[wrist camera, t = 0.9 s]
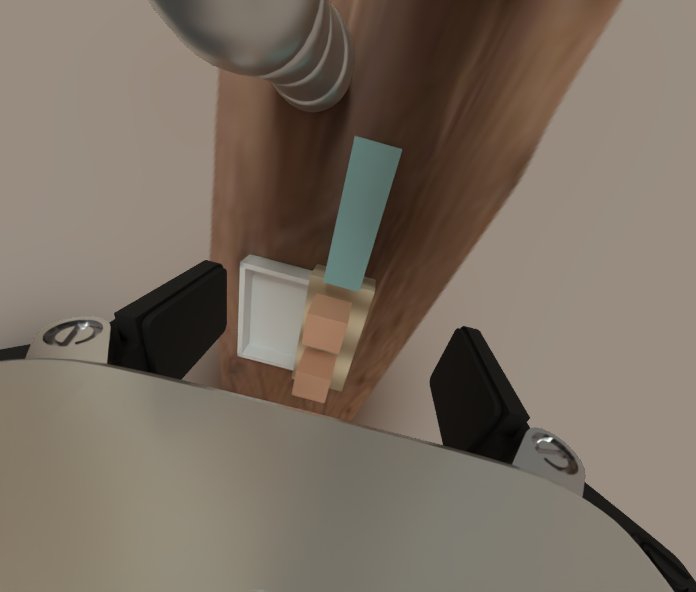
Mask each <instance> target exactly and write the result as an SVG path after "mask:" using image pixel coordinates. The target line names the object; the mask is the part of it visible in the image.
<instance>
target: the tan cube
mask: <svg viewBox="0 0 696 592" xmlns="http://www.w3.org/2000/svg"><path fill="white" fill-rule="evenodd" d="M351 306H352V302H348V301H344V300H340V299H337V298H333V297H329V296H326V295H322V294H318V293H316V295H315V298H314V300H313V302H312V304H311V306H310V308H309V310H308V313H307V317H306V322H305V328H304V333H303V338H302V343H301V344H302V345H306V346H310V347H313V348H317V349H321V350H325V351H329V352H332V353H336V354H339V352H340V349H341V345H342V342H343V339H344V335H345V332H346V329H347V325H348V321H349V316H350V311H351Z"/></svg>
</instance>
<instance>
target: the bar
mask: <svg viewBox="0 0 696 592" xmlns="http://www.w3.org/2000/svg"><path fill="white" fill-rule="evenodd" d="M401 153H402V149H400V148H396V147H393V146H389V145H386V144H382V143H379V142H375V141H371V140H368V139H364V138H361V137H357V136H355V138H354V142H353V147H352V151H351V156H350V161H349V165H348V170H347V174H346V179H345V184H344V188H343V193H342V198H341V202H340V207H339V211H338V216H337V221H336V225H335V230H334V234H333V239H332V244H331V248H330V253H329V257H328V262H327V267H326V271H325V276H324V280H323V282H324V283H328V284H331V285H335V286H339V287H343V288H346V289H350V290H354V291H357V292H359V291H360V288H361V284H362V281H363V278H364V275H365V271H366V268H367V265H368V261H369V258H370V255H371V252H372V248H373V245H374V242H375V238H376V235H377V232H378V228H379V225H380V222H381V219H382V215H383V212H384V209H385V205H386V202H387V199H388V195H389V192H390V189H391V186H392V182H393V179H394V176H395V172H396V169H397V166H398V163H399V159H400V156H401Z"/></svg>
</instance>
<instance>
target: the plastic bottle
mask: <svg viewBox="0 0 696 592" xmlns="http://www.w3.org/2000/svg"><path fill="white" fill-rule="evenodd" d="M148 1H149V2H150V4H151V5H152V7H153V9H154V10H155V11H156V12H157V13H158V15H159V16H160V17H161V18H162V19H163V20H164V22H165V23H166V24H167V25H168V26H169V28H170V29H171V30H172V31H173V32H174V34H175V35H176V36H177V37H178V38H179V39H180V41H181V42H182V43H184V44H185V45H186V46H187V47H188V48H189V49H190V50H191V51H192V52H194V53H195V54H196V55H197V56H199V57H200V58H202V59H203V60H205V61H207V62H208V63H210V64H211V65H213V66H216V67H219V68H221V69H224V70H227V71H230V72H233V73H235V74H238V75H245V76H251V77H257V78H263V79H265V80H267V81H269V82H271V83H272V85H273V86H274V87H275V89H276V90H277V91H278V93H279V94H280V95H281V96H282V97H283V98H284V99H285V100H286V101H287V102H288V103H289V104H291V105H292V106H294V107H295V108H297V109H300V110H302V111H305V112H321V111H324V110H327V109H329V108H331V107H333V106H334V105H336V104H337V103H338V102H339V101H340V100H341V99H342V97H343V96H344V94H345V93H346V91H347V89H348V87H349V84H350V82H351V78H352V74H353V69H354V48H353V43H352V38H351V34H350V32H349V30H348V27H347V25H346V23H345V21H344V19H343V18H342V16H341V15H340V13H339V12H338V10H337V9H336V7H335V6H334V5H333V4H332V3H331V2H330V1H329V0H148Z"/></svg>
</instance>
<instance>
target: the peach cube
mask: <svg viewBox="0 0 696 592" xmlns="http://www.w3.org/2000/svg"><path fill="white" fill-rule="evenodd" d="M336 357H337V356H335V355H332V354H328V353H324V352H320V351H316V350H313V349H309V348H305V350H304V352H303V355H302V358H301V360H300V363H299V365H298V368H297V370H296V374H295V380H294V385H293V390H292V395H294V396H298V397H302V398H306V399H309V400H313V401H317V402H321V403H325V400H326V396H327V393H328V389H329V386H330V383H331V379H332V374H333V370H334V366H335V361H336Z"/></svg>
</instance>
